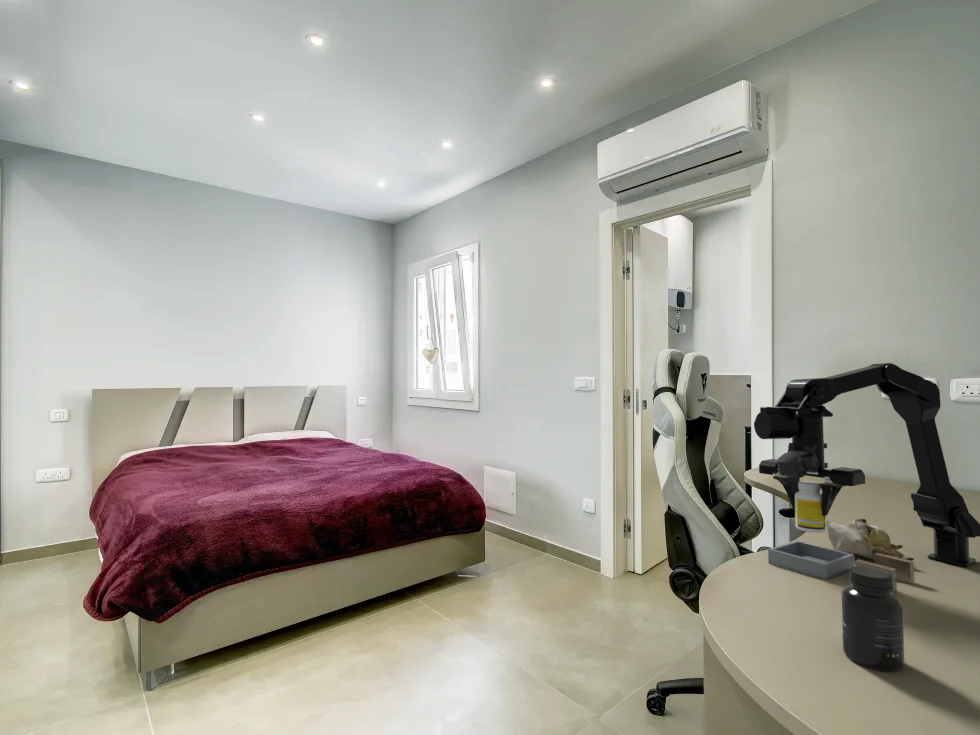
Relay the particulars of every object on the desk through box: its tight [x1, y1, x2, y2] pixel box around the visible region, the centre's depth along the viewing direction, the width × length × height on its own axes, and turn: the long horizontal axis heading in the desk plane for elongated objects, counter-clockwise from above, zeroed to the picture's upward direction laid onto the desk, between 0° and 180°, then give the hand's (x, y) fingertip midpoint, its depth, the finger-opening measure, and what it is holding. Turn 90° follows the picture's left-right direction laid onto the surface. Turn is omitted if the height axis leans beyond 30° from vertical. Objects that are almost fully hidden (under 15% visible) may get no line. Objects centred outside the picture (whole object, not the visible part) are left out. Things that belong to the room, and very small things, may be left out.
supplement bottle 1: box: [794, 480, 827, 534], centre depth 107 cm, size 5×5×10 cm
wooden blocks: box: [854, 553, 915, 594], centre depth 98 cm, size 9×6×4 cm, turn 121°
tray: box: [767, 540, 855, 581], centre depth 107 cm, size 11×11×3 cm
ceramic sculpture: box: [825, 518, 915, 561], centre depth 113 cm, size 11×9×15 cm
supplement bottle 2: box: [841, 566, 905, 673], centre depth 70 cm, size 7×7×12 cm
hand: (810, 512), depth 107 cm, fingers closed on supplement bottle 1, 5 cm apart
